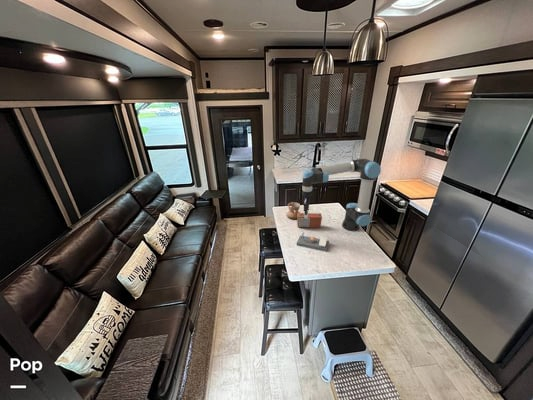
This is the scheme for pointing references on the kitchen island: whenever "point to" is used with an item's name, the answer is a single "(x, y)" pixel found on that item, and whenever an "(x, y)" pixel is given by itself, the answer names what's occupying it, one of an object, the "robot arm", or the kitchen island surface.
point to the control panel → (309, 220)
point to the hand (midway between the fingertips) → (306, 217)
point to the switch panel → (311, 243)
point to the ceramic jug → (293, 210)
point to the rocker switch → (323, 240)
